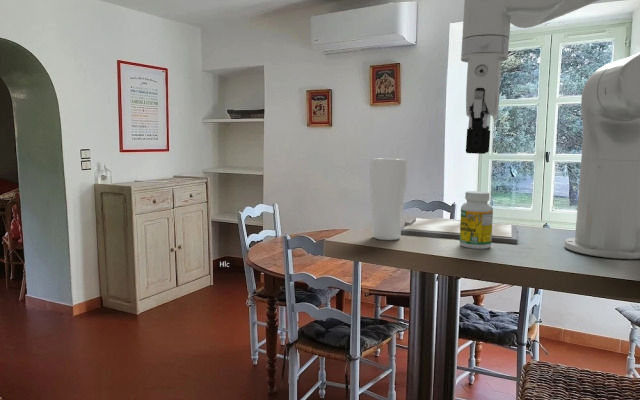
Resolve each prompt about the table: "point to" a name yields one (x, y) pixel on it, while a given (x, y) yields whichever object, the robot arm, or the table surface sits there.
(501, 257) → the table surface
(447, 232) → the notepad
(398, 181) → the drinking glass
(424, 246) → the table surface
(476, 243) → the supplement bottle
